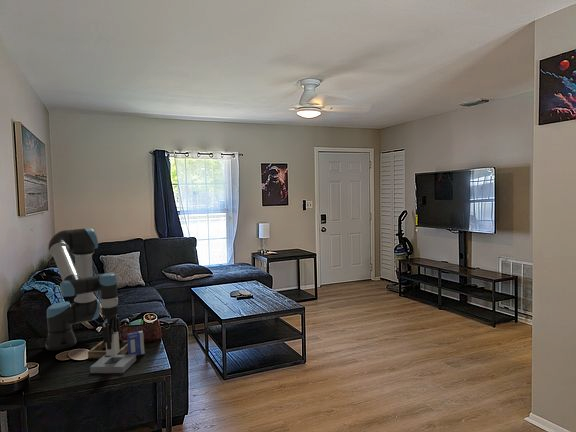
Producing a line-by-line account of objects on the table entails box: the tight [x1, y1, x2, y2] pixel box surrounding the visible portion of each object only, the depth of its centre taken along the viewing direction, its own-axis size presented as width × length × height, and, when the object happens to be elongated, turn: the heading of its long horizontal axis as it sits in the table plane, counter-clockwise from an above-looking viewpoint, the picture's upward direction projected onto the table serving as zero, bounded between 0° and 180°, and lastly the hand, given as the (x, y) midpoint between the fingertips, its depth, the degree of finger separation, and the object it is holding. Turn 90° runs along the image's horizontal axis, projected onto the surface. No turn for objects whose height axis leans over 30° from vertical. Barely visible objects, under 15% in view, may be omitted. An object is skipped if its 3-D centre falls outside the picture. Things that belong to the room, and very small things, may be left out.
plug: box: [105, 329, 120, 355], centre depth 205 cm, size 4×4×12 cm
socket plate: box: [89, 354, 137, 374], centre depth 206 cm, size 14×16×4 cm
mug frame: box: [87, 340, 128, 359], centre depth 224 cm, size 15×17×4 cm
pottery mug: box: [105, 337, 125, 349], centre depth 225 cm, size 12×10×8 cm
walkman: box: [126, 330, 146, 357], centre depth 219 cm, size 8×3×12 cm, turn 123°
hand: (113, 352), depth 206 cm, fingers closed on plug, 4 cm apart
